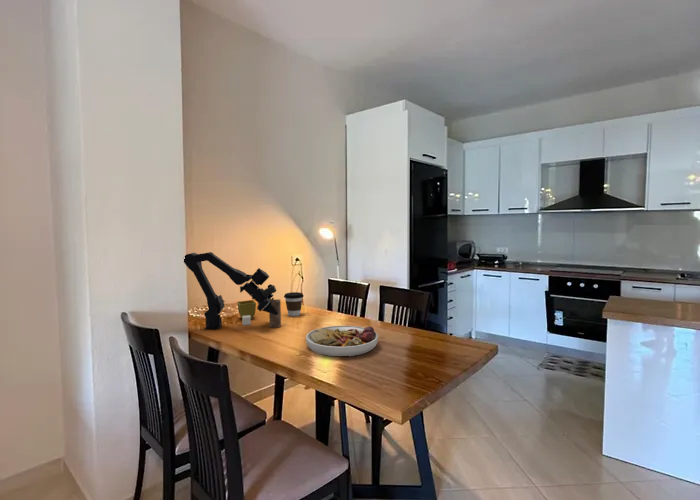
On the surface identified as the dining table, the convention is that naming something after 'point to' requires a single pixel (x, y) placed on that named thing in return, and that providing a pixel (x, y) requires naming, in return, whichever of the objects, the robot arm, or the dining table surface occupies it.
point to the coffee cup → (293, 303)
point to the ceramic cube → (246, 320)
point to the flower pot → (247, 308)
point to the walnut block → (275, 319)
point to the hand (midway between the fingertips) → (277, 313)
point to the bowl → (342, 340)
